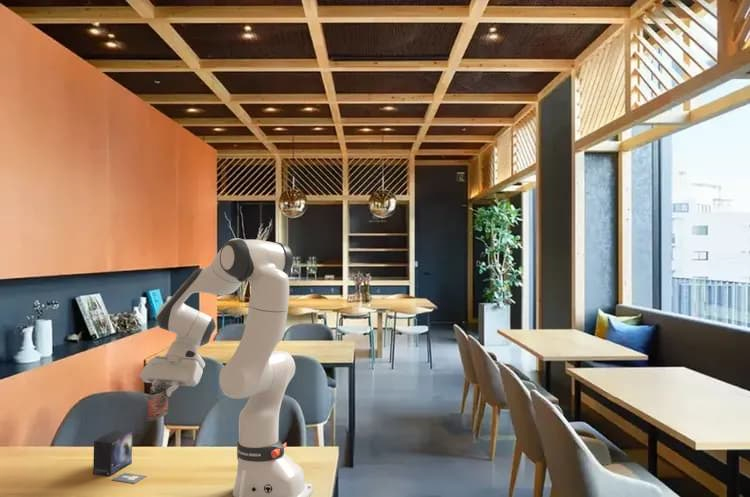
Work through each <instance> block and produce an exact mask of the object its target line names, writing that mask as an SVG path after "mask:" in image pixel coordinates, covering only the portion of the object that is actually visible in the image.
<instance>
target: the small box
mask: <svg viewBox="0 0 750 497" xmlns="http://www.w3.org/2000/svg"><path fill="white" fill-rule="evenodd" d="M132 461H133V431H129V430H120V429H116V430H113V431H111V432H109V433H106V434H105V435H102V436H100V437H98V438H96V439H94V440H93V462H92V463H93V464H92V475H99V476H104V477H105V476H106V477H111V476H112V475H114V474H116V473H117V472H119V471H121V470H123V469H124V468H126V467H128V466H131V465H132V463H133V462H132Z"/></svg>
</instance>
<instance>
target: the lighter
mask: <svg viewBox="0 0 750 497" xmlns="http://www.w3.org/2000/svg"><path fill="white" fill-rule="evenodd" d="M166 385H167V384H166V382H161V383H159V384H154V385H152V386H151V387H150V393H148V394H147V395H146V399H147V409H148V411H147V415H148V416H147V420H148V421H155V420H158V419H160V418H162V417H164V416H167V415H168V414H169V413H170V409H169V397H168V396H165V395H164V392H165V389H168V388H169V387H168V388H166Z"/></svg>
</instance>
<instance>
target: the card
mask: <svg viewBox="0 0 750 497" xmlns="http://www.w3.org/2000/svg"><path fill="white" fill-rule="evenodd" d="M145 478H147V475H144V474H143V475H142V474H137V473H130V472H129V473H128V472H123V473H122V474H119V475H118V476H116V477H114V478H113V479H111V480H112V481H116V482H122V483H128V484H138V483H139V482H140V481H142V480H144V479H145Z"/></svg>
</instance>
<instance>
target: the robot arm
mask: <svg viewBox="0 0 750 497" xmlns="http://www.w3.org/2000/svg"><path fill="white" fill-rule="evenodd" d="M293 263H294V256H293V252H292V249H291V248H290V247H289V246H288V245H286V244H284V243H281V242H278V241H275V242H274V241H273V242H272V241H267V240H261V239H252V238H251V239H244V238H243V239H242V238H238V237H237V238H236V237H235V238H232V239H229V240H228V241H227V242H225V243H224V244H223V246H222V247H221V248H220V250H219V251H218V252H217V254H216V255H215V257H214V258H213V260H212V262H211V263H210V265H208V266H206V267H204V268H197V269H195V270H194V271H193V272H192V273H191V274H190V275H189V276H188V277H187V278H186V280H184V282H183V283H182V284H181V285H180V286H179V288H178V289H177V290H176V291H175V292H174V294H173V295H172V296H171V297H170V298H169V299H168V300H166V301H165V302H164V303H163V304H162V305H161V307H159V309H158V311H157V313H156V318H155V319H156V323H157V325H158V327H159V328H160V329H162V330H166V331H168V332H170V333H173V334H176V336H175V339H174V340H173V342H171V343H170V346H169V347H168V349H167V351H166V353H165V355H163V356H160V355H155V356H154V357H152V358H150V359H149V361H147V362H146V364H145V366H144V367H143V369H142V370H141V371H140V372H139V377H140V380H141V381H142V382H144V383H147V384H152V385H151V386H153V385H154V384H159V383H161V382H166V385H171V386H169V387H168V389H165V392H164V395H165V396H168V398H169V397H171V395H172V394H173V392H175V391H176V390H177V389H178V388H179V387H180V386H185V387H195V386H197V385H198V384H199V383H200V381H201V378H202V375H203V373H204V372H203V371H204V370H203V369H204V368H205V366H206V362H205V361H204V359H203V358H202V357H201V355H200V354H199V353H198V350H199V348H200V347H203V346H205V345H207V344H208V343H209V342H210V339H211V337H212V334H213V333H214V331H215V330H216V327H217V326H216V322H215V320H214V318H213V317H212V316H210V315H208V314H206V313H204V312H202V311H200V310H198V309H195V308H194V307H191V306H189V305H188V304H186V303H185V302H186V301H187V300H188V299H189V297H190V296H191V295H192V294H195V293H203V294H209V295H214V296H227V295H231V294H233V293H235V292H236V291H237V290H238V289H239V288H240V287H241V286H242V284H243V283H244V282H245V281H248V283H249V285H250V296H249V300H248V308H247V315H246V320H245V326H244V331H243V334H242V338H241V340H240V341H239V343H238V346H237V348H236V350H235V352H234V354H233V355H232V357H231V358H230V359H229V361H228V362H227V363H226V364H225V365H224V366H223V367H222V368H221V369H220V372H219V376H218V379H219V380H218V382H219V383H218V384H219V386H220V389H221V391H222V392H223V394H224V395H225V396H226V397H228V398H230V399H247V398H248V400H247V402H246V404H245V405H244V406H243V409H241V411H240V413H239V416H238V441H237V444H236V445H237V446H236V457H237V459H236V460H237V469H236V470H237V471H236V476H235V481H234V486H233V488H232V496H233V497H310V496H311V495H312V494H311V493H313V490H314V489H313V484H312V483H311V482H307V481H306V479H305V473H304V470H303V468H302V466H300V465H299V463H297V462H296V461H294V460H293V459H292V458H291V457H290V456H288V455H287V454H286V453H285V448H287V442H284V443H282V442H281V440H280V438H279V430H280V429H279V428H280V427H279V424H280V423H279V422H280V421H279V420H280V412H281V406H282V402H283V399H284V396H285V392H286V389H287V388H288V385H289V383H290V382H291V380H292V379H293V378H294V376H295V374H296V362H295V360H294V358H293V356H292V355H291V354H290V353H289V352H287V351H285V350H275V349H276V347H277V346H278V344H279V343H281V341H282V340H283V338H284V337H285V332H286V326H287V321H288V320H287V319H288V312H289V307H290V306H289V305H290V278H289V276H288V274H289V273H290V271H291V269H292V267H293Z"/></svg>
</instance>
